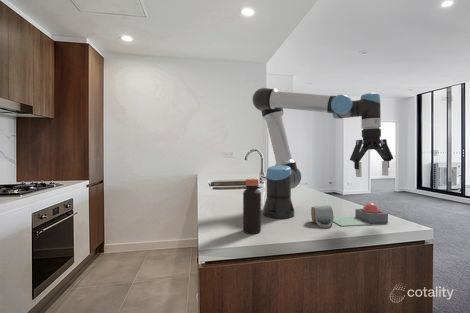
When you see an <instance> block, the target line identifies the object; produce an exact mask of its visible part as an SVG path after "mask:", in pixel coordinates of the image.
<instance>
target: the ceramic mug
mask: <svg viewBox="0 0 470 313" xmlns="http://www.w3.org/2000/svg"><path fill="white" fill-rule="evenodd" d="M310 215H311V221H312V222H313V223H314V224H316V225H317V226H318V227H320V228H324V229H325V228H326V229H328V228H330V227H331V226H332V224H334V222H333V219H334V210H333V206H332V205H330V204H328V205H314V206H311V209H310Z"/></svg>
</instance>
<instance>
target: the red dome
mask: <svg viewBox="0 0 470 313" xmlns="http://www.w3.org/2000/svg"><path fill="white" fill-rule="evenodd" d="M362 209H363V211H364V212H367V213H369V214H370V213H380V211H381V210H380V207H378V206H377V205H376V204H375V203H373V202H369V203H366V204H365V206H363V207H362Z"/></svg>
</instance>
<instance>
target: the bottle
mask: <svg viewBox="0 0 470 313" xmlns="http://www.w3.org/2000/svg"><path fill="white" fill-rule="evenodd" d="M245 187H246V188H245V189H244V191H243V193H242V196H243V197H242V200H243V202H242V205H243V206H242V214H243V215H242V217H243V218H242V219H243V220H242V223H243V225H242V226H243V227H242V230H243V232H244V233H246V234H248V235H249V234H250V235H256V234H260V233H261V230H262V224H261V222H262V220H261V219H262V218H261V217H262V215H261V214H262V213H261V212H262V203H261V202H262V193H261V191H260V189H259V188H258V187H259V179H257V178H246V179H245Z"/></svg>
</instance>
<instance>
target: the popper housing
mask: <svg viewBox="0 0 470 313" xmlns="http://www.w3.org/2000/svg"><path fill="white" fill-rule="evenodd" d="M354 212H355V218H357V219H360V220H362V221H364V222H366V223H369V224H383V223H384V224H386V223H388V222H389V213H388V212H385V211H382V210H380V213H370V214H369V213H367V212H364V211H363V208H355V211H354Z"/></svg>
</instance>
